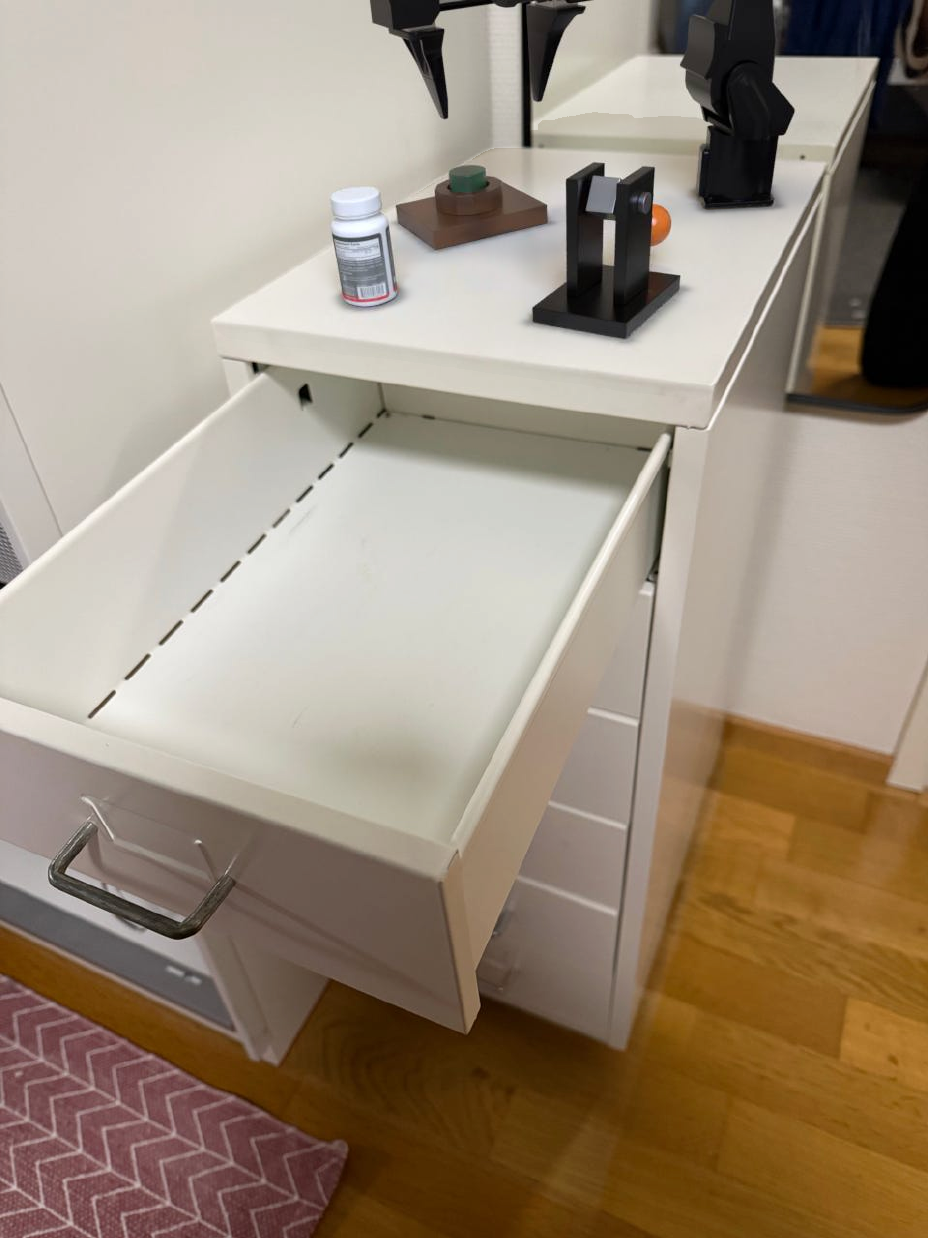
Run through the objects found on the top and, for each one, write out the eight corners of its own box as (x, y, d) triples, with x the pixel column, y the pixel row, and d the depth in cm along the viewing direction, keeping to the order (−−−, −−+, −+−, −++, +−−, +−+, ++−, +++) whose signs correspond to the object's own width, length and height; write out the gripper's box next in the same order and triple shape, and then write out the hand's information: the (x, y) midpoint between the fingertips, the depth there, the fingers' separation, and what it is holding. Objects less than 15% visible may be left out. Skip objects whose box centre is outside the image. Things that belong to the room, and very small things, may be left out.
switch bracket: (590, 276, 75) (592, 150, 68) (679, 289, 71) (690, 157, 65) (532, 322, 69) (527, 188, 62) (625, 339, 65) (631, 198, 59)
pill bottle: (364, 283, 78) (348, 181, 72) (408, 289, 76) (395, 186, 70) (332, 303, 75) (313, 199, 69) (377, 311, 73) (361, 204, 67)
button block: (502, 197, 93) (500, 161, 91) (547, 222, 86) (547, 184, 83) (397, 222, 90) (393, 185, 87) (435, 249, 83) (431, 210, 80)
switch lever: (635, 247, 75) (644, 206, 74) (670, 251, 73) (680, 210, 72) (577, 215, 65) (587, 168, 64) (617, 220, 63) (628, 171, 62)
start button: (477, 181, 87) (476, 162, 86) (493, 189, 85) (492, 170, 84) (444, 188, 87) (442, 169, 85) (459, 197, 84) (457, 177, 83)
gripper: (405, -106, 60) (428, 146, 70) (641, -132, 65) (630, 107, 75) (355, -106, 68) (382, 120, 78) (568, -130, 72) (567, 87, 83)
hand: (491, 109), depth 78 cm, fingers open, 9 cm apart
